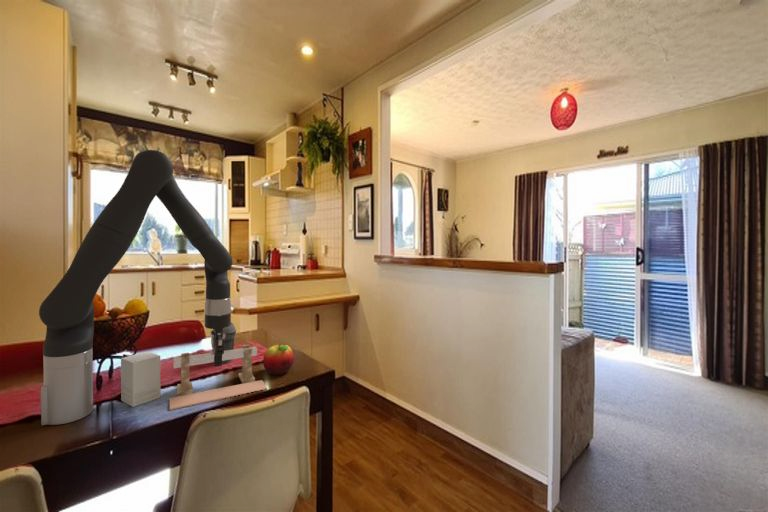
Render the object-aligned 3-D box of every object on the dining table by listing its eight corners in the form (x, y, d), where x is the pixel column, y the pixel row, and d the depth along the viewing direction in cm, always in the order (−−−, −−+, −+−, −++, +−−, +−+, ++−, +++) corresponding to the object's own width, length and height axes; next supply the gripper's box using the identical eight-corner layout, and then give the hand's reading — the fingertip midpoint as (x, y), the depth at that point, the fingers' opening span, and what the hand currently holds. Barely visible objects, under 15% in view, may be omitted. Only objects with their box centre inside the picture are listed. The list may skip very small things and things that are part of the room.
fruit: (284, 363, 126) (285, 338, 126) (299, 372, 119) (300, 345, 118) (257, 370, 119) (258, 343, 118) (271, 380, 111) (271, 351, 110)
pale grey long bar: (173, 368, 99) (173, 360, 99) (173, 365, 101) (173, 358, 101) (257, 355, 112) (257, 348, 112) (255, 353, 114) (255, 346, 114)
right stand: (242, 383, 108) (242, 350, 107) (238, 376, 113) (239, 345, 113) (254, 381, 110) (255, 348, 110) (251, 374, 116) (251, 343, 115)
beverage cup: (227, 365, 122) (228, 312, 121) (210, 363, 123) (210, 311, 122) (239, 359, 129) (240, 308, 128) (223, 357, 131) (224, 307, 130)
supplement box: (161, 397, 97) (161, 355, 97) (132, 408, 91) (132, 363, 90) (149, 390, 101) (149, 350, 100) (120, 400, 95) (119, 357, 94)
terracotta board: (169, 410, 90) (169, 408, 90) (169, 399, 96) (169, 398, 96) (267, 389, 104) (267, 388, 104) (262, 381, 110) (262, 379, 110)
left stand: (177, 396, 98) (177, 360, 98) (177, 387, 103) (177, 353, 103) (193, 393, 100) (193, 357, 100) (191, 385, 106) (192, 351, 105)
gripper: (202, 308, 109) (202, 359, 110) (206, 317, 98) (206, 374, 99) (227, 306, 113) (227, 355, 114) (234, 315, 102) (233, 369, 103)
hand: (217, 364), depth 106 cm, fingers closed on pale grey long bar, 2 cm apart
